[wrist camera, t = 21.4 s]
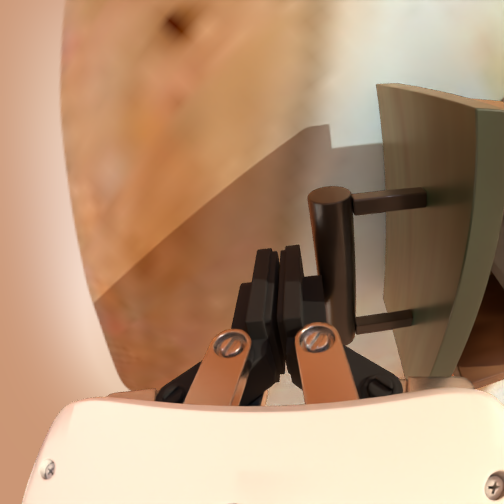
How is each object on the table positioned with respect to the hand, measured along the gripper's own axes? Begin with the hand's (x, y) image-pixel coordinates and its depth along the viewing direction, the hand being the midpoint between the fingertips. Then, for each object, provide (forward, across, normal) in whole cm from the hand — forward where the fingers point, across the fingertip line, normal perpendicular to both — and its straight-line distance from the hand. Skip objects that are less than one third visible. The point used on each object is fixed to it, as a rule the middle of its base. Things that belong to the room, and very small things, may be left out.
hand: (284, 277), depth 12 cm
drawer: (+5, -11, 0) cm, 12 cm away
